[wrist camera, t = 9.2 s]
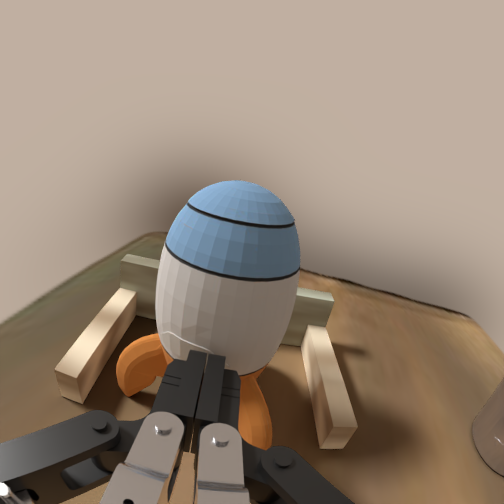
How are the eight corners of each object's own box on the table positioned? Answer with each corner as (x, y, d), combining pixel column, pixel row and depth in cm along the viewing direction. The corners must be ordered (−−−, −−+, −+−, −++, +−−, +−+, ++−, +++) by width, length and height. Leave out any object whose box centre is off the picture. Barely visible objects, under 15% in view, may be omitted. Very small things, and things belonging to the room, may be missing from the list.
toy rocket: (224, 354, 25) (309, 191, 20) (294, 456, 18) (442, 288, 13) (105, 361, 19) (162, 145, 13) (158, 503, 11) (309, 290, 6)
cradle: (342, 448, 16) (376, 397, 14) (61, 395, 15) (46, 335, 13) (314, 338, 28) (330, 292, 27) (126, 302, 27) (127, 253, 26)
